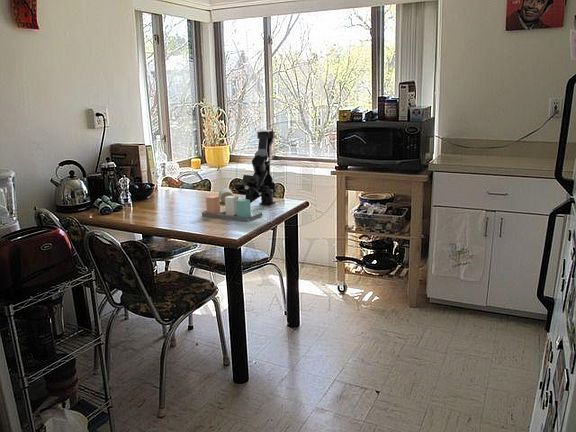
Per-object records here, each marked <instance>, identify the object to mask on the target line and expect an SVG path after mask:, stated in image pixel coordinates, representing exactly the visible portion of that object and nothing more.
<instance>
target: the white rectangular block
mask: <svg viewBox="0 0 576 432" xmlns="http://www.w3.org/2000/svg"><path fill="white" fill-rule="evenodd" d="M239 199H240V198H239V196H237V195H236V196H235V195H233V196H227V197H225V203H224V205H225V211H226V215H229V216H233V215H235V214H237V208H236V200H239Z"/></svg>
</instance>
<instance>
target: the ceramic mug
mask: <svg viewBox="0 0 576 432" xmlns="http://www.w3.org/2000/svg"><path fill="white" fill-rule="evenodd" d="M218 196H219V199H220V202H221V203H222V204H225V197H227V196H234V193H233V192H232V190H231V189H230V188H228V187H225V188H222V189H221V190H220V191H219V192H218Z"/></svg>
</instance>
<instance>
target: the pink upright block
mask: <svg viewBox="0 0 576 432" xmlns="http://www.w3.org/2000/svg"><path fill="white" fill-rule="evenodd" d="M220 202H221V200H220V198H219V195H208V196H205V203H206V210H207V213H214V214H218V213H220V212H221V203H220Z"/></svg>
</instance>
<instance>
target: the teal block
mask: <svg viewBox="0 0 576 432" xmlns="http://www.w3.org/2000/svg"><path fill="white" fill-rule="evenodd" d="M238 199H239V200H236V208H237V217H245V218H248V220H249V217H251V216H252V214H251V211H252V210H251V203H250V200H249V199H245V198H238Z"/></svg>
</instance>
